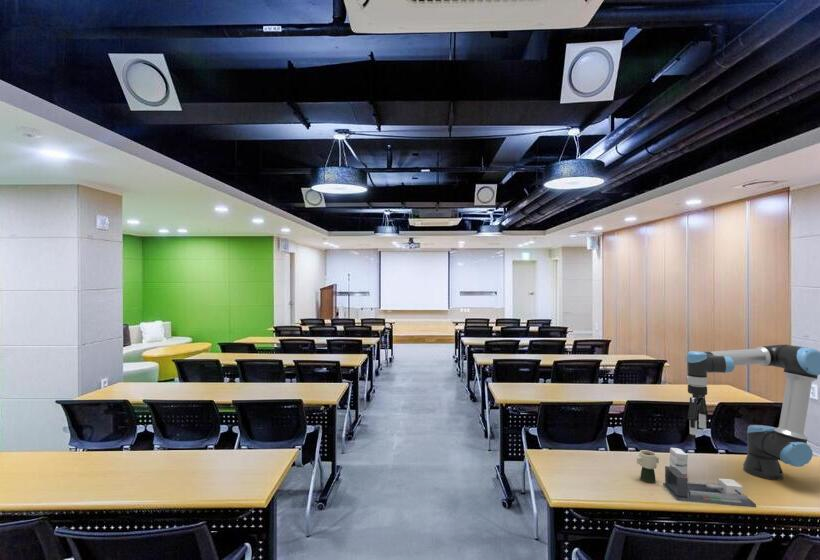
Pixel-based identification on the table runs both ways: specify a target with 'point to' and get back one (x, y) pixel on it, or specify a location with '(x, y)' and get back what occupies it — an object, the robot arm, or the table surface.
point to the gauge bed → (699, 491)
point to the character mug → (648, 465)
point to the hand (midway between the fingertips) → (698, 431)
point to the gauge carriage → (727, 487)
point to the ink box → (679, 460)
